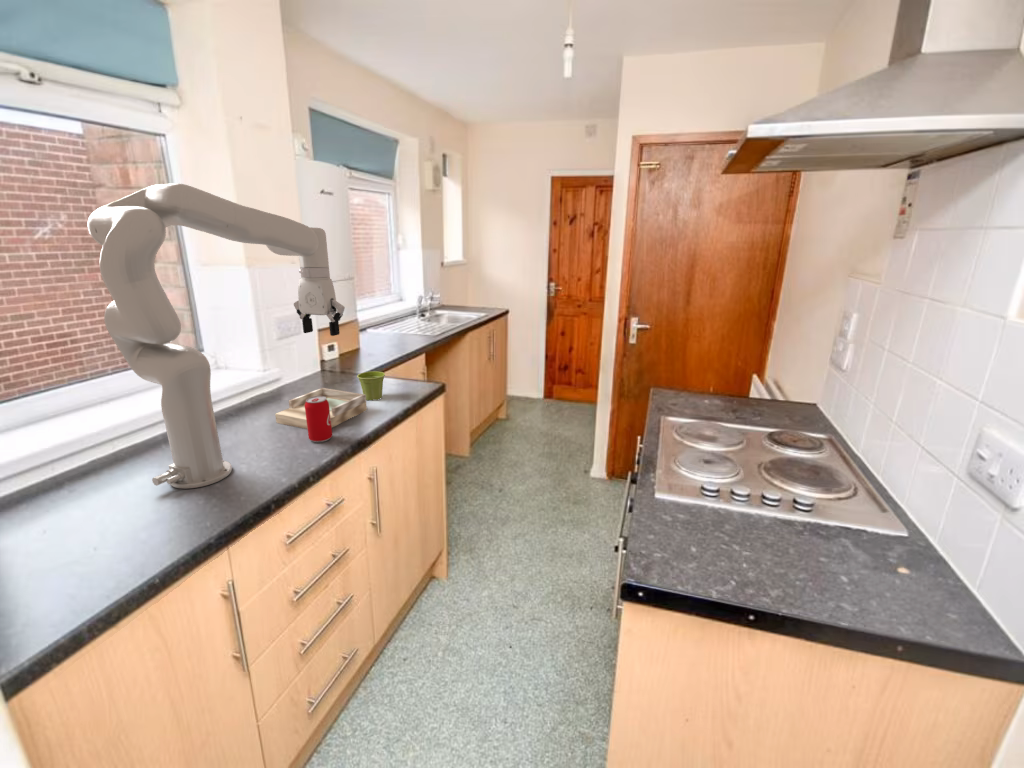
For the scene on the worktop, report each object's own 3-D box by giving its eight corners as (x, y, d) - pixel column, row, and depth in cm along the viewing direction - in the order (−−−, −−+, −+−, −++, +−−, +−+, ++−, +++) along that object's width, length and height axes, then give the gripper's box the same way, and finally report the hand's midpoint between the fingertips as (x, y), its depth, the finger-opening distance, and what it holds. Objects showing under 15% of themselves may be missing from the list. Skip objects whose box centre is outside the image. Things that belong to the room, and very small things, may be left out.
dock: (322, 432, 138) (320, 414, 137) (276, 422, 145) (274, 406, 143) (366, 410, 156) (365, 394, 155) (323, 402, 163) (322, 387, 161)
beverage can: (336, 435, 136) (332, 395, 133) (326, 444, 131) (321, 403, 127) (315, 434, 137) (311, 394, 134) (304, 443, 131) (299, 402, 128)
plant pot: (353, 400, 165) (351, 377, 162) (369, 392, 174) (367, 370, 171) (377, 403, 162) (375, 379, 160) (391, 395, 171) (390, 372, 169)
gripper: (281, 273, 133) (288, 333, 138) (330, 275, 127) (336, 338, 132) (301, 271, 139) (307, 329, 144) (349, 274, 134) (354, 333, 139)
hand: (321, 333), depth 138 cm, fingers open, 9 cm apart
